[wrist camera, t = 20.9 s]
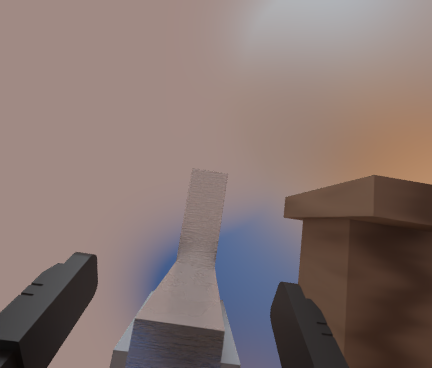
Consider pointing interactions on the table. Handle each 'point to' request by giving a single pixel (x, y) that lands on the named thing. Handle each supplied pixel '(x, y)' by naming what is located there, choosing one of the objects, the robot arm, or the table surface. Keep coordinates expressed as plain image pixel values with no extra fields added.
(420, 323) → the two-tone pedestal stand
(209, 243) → the notched grey block
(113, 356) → the grey pedestal column
